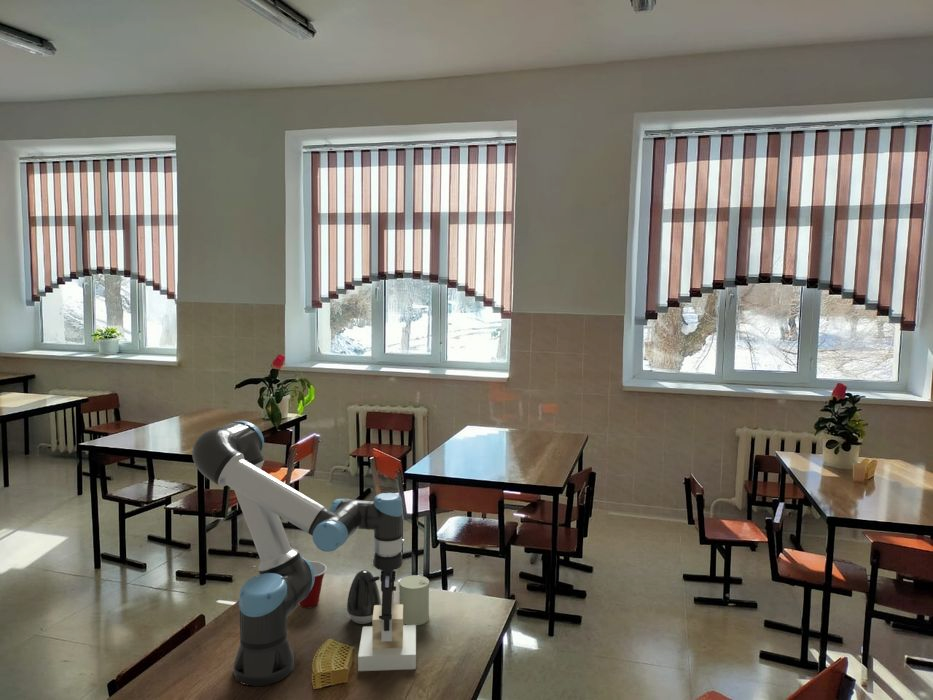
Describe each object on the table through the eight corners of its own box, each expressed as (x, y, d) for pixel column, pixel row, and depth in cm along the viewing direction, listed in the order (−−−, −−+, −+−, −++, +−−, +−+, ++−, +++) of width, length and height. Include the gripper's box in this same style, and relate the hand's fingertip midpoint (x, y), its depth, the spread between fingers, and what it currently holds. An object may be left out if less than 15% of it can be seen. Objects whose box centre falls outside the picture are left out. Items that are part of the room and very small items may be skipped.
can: (424, 627, 188) (424, 588, 187) (394, 624, 190) (394, 585, 189) (432, 612, 197) (432, 575, 196) (404, 609, 199) (404, 572, 198)
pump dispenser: (370, 631, 185) (370, 581, 184) (340, 624, 189) (339, 574, 188) (387, 615, 195) (387, 567, 193) (358, 608, 199) (358, 561, 197)
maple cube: (372, 648, 169) (372, 619, 168) (374, 632, 177) (374, 605, 176) (402, 647, 170) (402, 618, 169) (403, 631, 178) (403, 604, 177)
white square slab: (358, 671, 166) (358, 656, 165) (362, 640, 181) (362, 626, 180) (415, 669, 167) (415, 654, 167) (415, 638, 182) (415, 624, 181)
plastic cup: (322, 612, 196) (322, 574, 195) (287, 611, 196) (287, 574, 195) (330, 595, 207) (330, 560, 206) (297, 595, 207) (297, 559, 206)
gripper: (401, 571, 159) (400, 652, 161) (403, 534, 184) (402, 604, 186) (370, 572, 159) (370, 653, 160) (376, 534, 183) (376, 605, 185)
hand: (387, 627), depth 173 cm, fingers open, 13 cm apart
